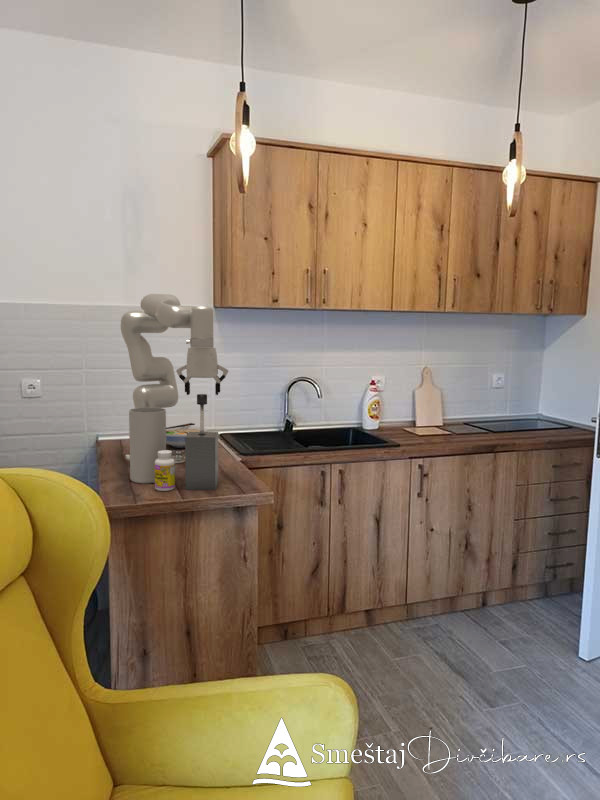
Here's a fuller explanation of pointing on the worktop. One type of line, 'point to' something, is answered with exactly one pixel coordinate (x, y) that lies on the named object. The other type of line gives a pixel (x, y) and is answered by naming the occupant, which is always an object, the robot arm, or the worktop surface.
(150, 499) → the worktop surface
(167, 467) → the supplement bottle
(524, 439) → the worktop surface
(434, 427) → the worktop surface
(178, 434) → the ramen bowl
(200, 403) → the plunger
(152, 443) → the cylinder vase
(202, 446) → the tall grey rectangular prism
